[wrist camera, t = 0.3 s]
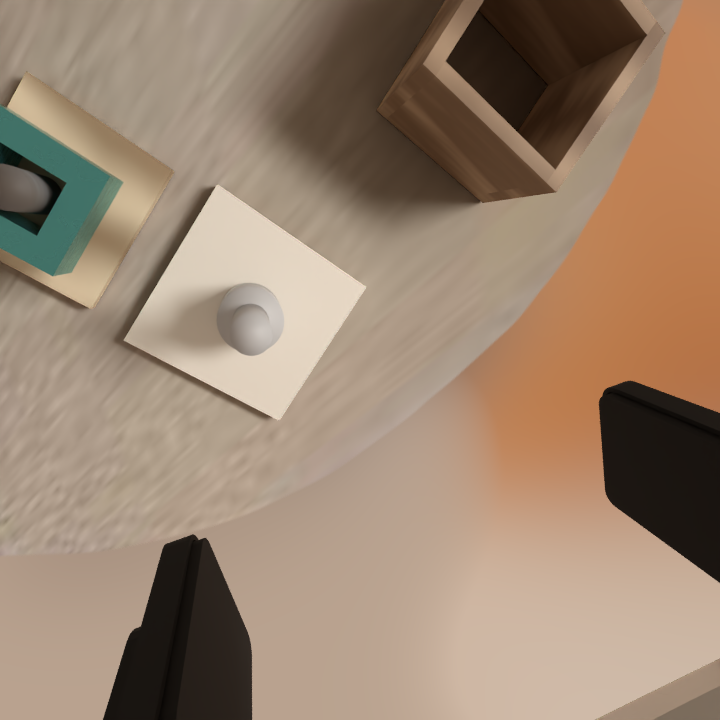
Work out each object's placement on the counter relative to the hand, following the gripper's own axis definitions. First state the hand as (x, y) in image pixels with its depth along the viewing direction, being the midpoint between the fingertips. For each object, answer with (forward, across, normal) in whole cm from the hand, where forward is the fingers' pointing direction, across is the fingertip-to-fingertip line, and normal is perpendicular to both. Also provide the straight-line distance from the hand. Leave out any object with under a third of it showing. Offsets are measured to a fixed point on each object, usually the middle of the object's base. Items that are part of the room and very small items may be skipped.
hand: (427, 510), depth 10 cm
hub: (+30, +4, -1) cm, 30 cm away
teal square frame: (+26, +14, -12) cm, 32 cm away
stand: (+30, +14, -12) cm, 35 cm away
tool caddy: (+30, -19, -13) cm, 38 cm away
